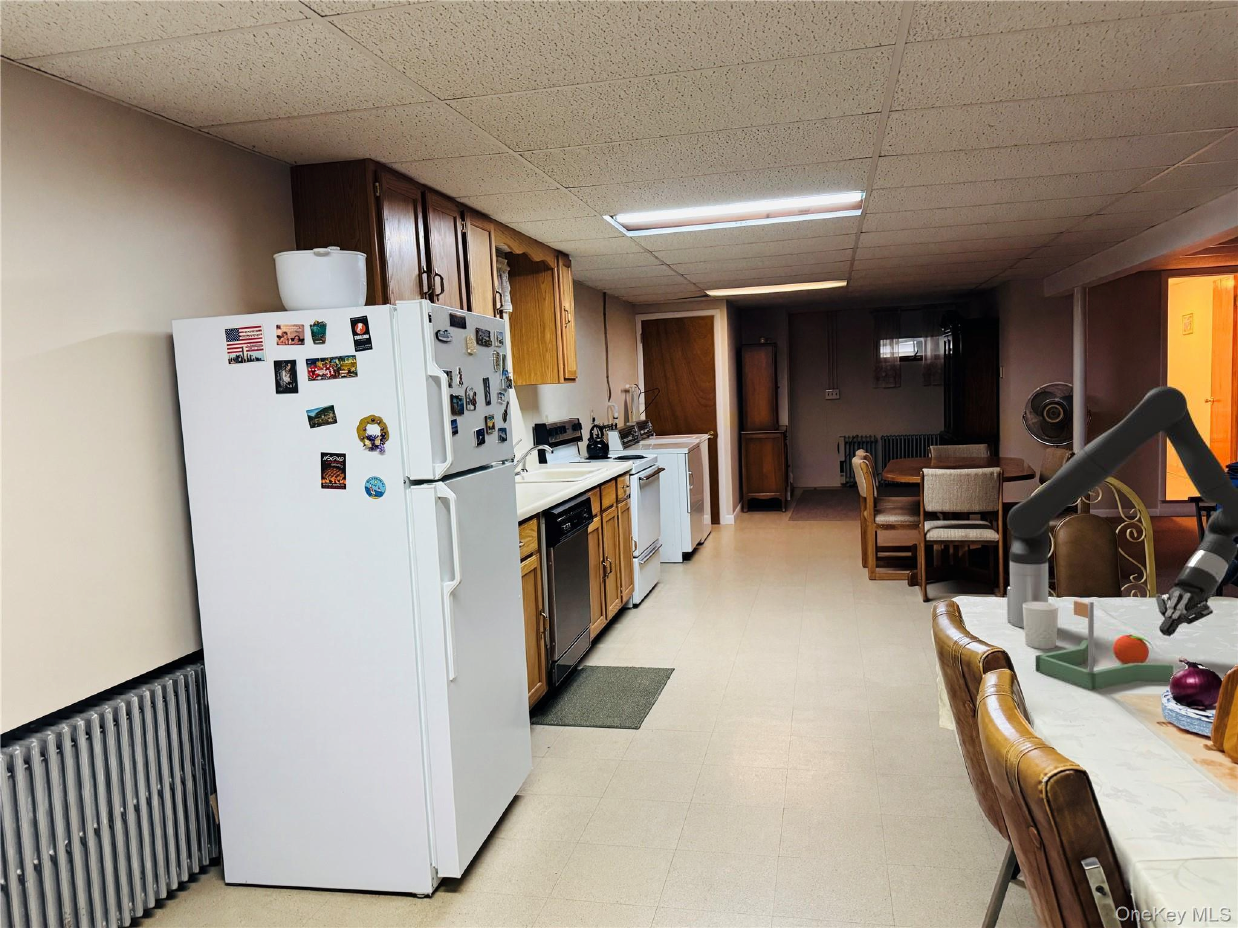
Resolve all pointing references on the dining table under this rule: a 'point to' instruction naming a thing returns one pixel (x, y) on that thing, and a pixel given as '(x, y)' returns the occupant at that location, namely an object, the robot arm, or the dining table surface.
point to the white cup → (1040, 624)
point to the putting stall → (1064, 660)
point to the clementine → (1131, 649)
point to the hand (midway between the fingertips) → (1164, 633)
